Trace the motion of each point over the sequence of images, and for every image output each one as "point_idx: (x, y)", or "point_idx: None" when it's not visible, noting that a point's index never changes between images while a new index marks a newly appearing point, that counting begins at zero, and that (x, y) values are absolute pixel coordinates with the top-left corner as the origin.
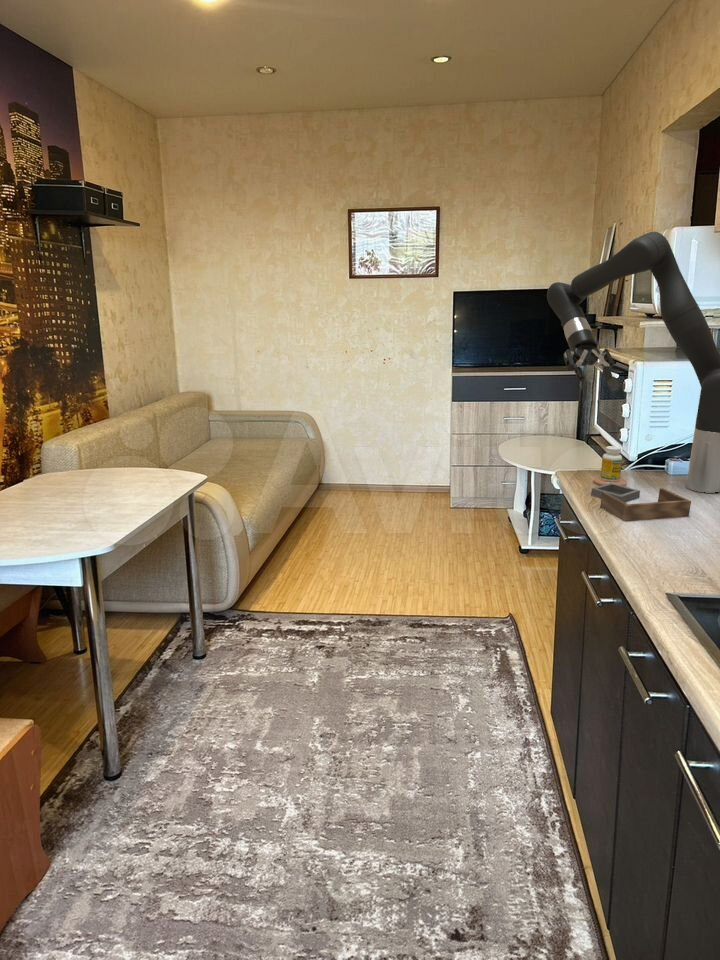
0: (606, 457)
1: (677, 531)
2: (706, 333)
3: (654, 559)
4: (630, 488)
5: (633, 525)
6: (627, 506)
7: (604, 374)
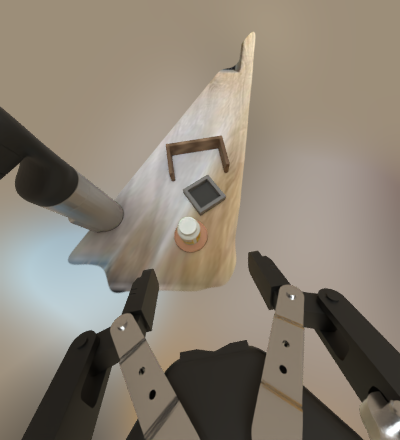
0: (198, 223)
1: (193, 130)
2: None
3: (228, 98)
4: (188, 195)
5: None
6: (221, 136)
7: (153, 306)
